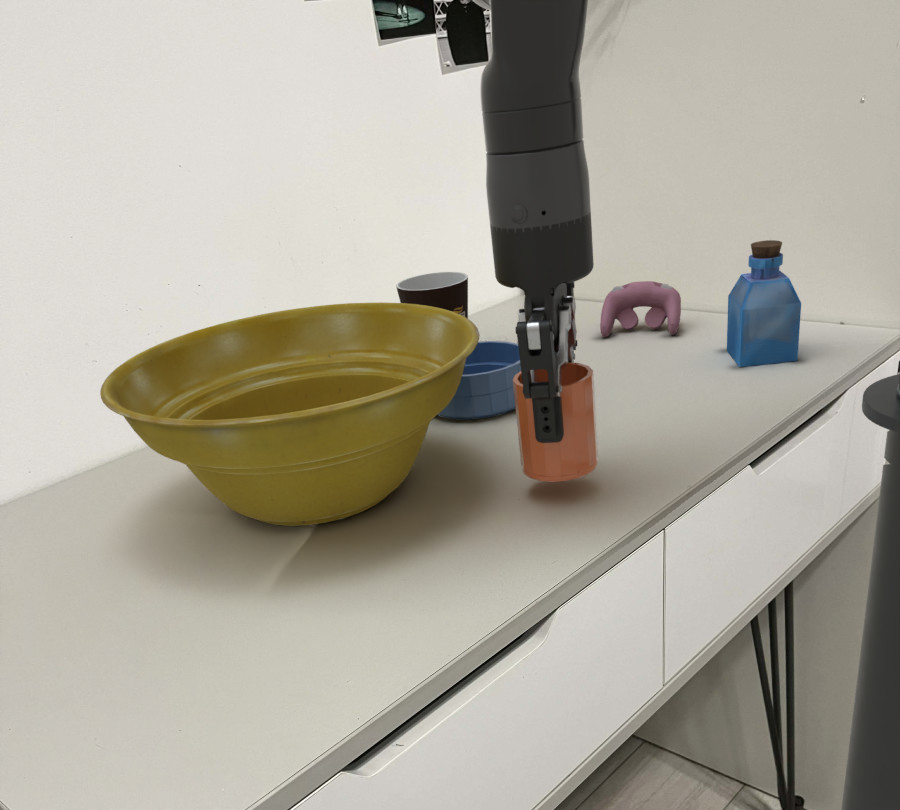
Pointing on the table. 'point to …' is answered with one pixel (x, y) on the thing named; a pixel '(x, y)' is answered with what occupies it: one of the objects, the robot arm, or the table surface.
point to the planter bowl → (298, 403)
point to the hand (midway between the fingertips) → (556, 424)
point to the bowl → (486, 382)
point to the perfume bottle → (763, 311)
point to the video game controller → (638, 295)
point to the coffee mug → (437, 291)
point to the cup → (579, 423)
